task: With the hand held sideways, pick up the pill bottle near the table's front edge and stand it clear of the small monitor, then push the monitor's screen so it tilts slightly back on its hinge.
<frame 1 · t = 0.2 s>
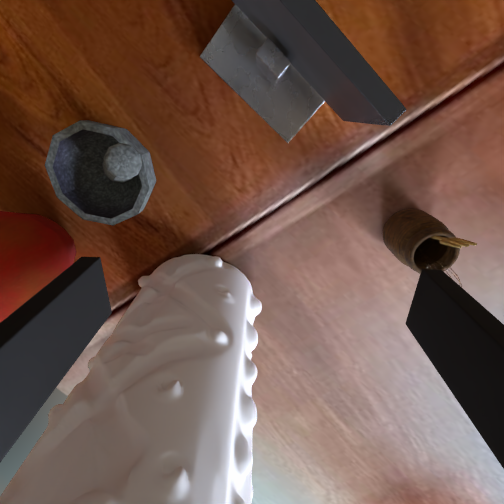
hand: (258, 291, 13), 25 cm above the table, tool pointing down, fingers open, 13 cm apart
utensil holder: (404, 228, 37), on the table
apple: (52, 238, 39), on the table
monitor stand: (275, 64, 30), on the table
mortar and pestle: (132, 162, 35), on the table
vase: (200, 301, 43), on the table
monitor screen: (292, 30, 20), point 10 cm above the table, hinge at 0.0°
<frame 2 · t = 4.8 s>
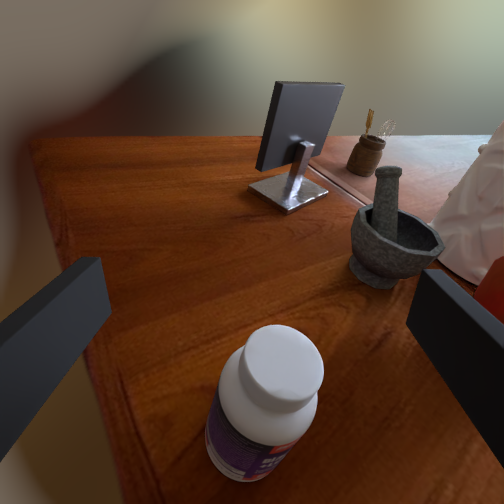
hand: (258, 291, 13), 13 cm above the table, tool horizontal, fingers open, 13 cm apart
utensil holder: (357, 171, 65), on the table
apple: (493, 367, 30), on the table
monitor stand: (286, 191, 50), on the table
mortar and pestle: (368, 268, 38), on the table
pill bottle: (243, 436, 20), on the table
vase: (472, 260, 46), on the table
monitor screen: (301, 125, 43), point 11 cm above the table, hinge at 0.0°
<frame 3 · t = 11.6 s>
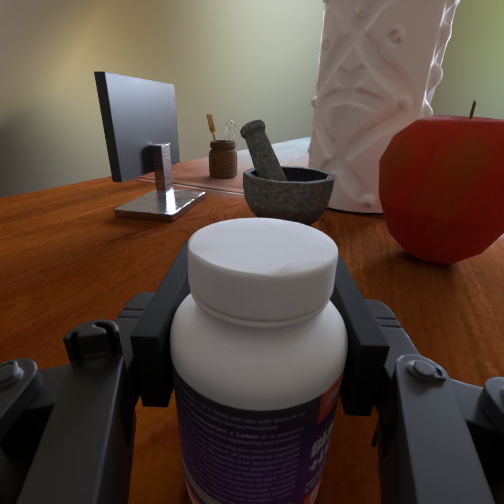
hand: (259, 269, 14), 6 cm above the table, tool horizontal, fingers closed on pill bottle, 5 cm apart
utensil holder: (222, 176, 65), on the table
apple: (427, 258, 30), on the table
monitor stand: (161, 205, 44), on the table
mortar and pestle: (279, 233, 35), on the table
pill bottle: (252, 463, 12), on the table, touching gripper
vase: (353, 201, 49), on the table
monitor screen: (146, 127, 39), point 10 cm above the table, hinge at 0.0°
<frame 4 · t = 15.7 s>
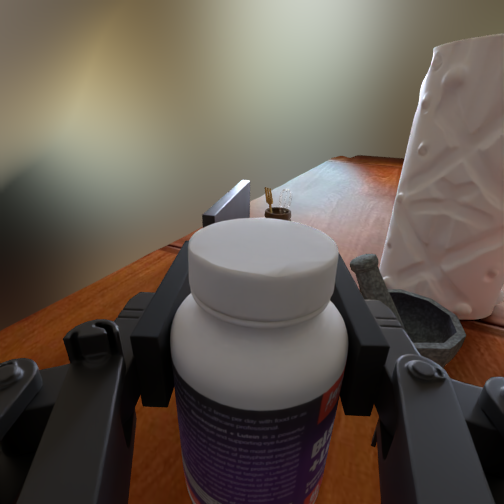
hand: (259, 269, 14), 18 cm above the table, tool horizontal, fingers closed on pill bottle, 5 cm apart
utensil holder: (275, 244, 62), on the table
mortar and pestle: (384, 364, 33), on the table
pill bottle: (253, 464, 12), point 12 cm above the table, touching gripper
vase: (430, 291, 47), on the table
monitor screen: (230, 238, 37), point 10 cm above the table, hinge at 0.0°
when the fingers open (6 cm above the table, at t = 20.1 s): pill bottle stays where it is, on the table.
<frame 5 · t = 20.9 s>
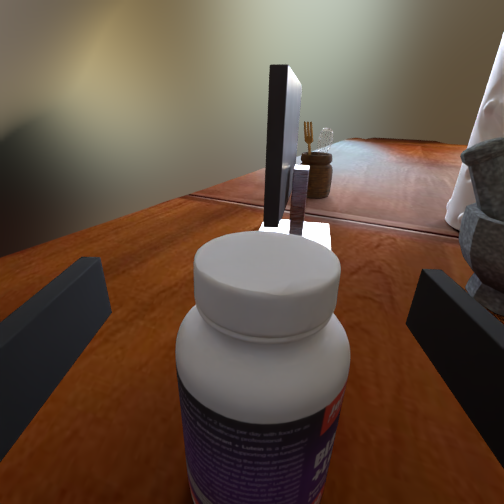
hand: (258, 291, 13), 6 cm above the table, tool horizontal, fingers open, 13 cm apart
utensil holder: (311, 195, 54), on the table
monitor stand: (287, 246, 33), on the table
mortar and pestle: (499, 299, 25), on the table
pill bottle: (255, 471, 12), on the table
monitor screen: (285, 144, 28), point 11 cm above the table, hinge at 0.0°
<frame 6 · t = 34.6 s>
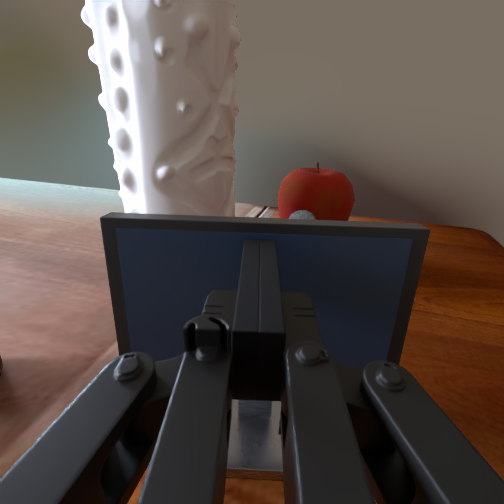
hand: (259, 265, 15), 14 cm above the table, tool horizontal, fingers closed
apple: (309, 247, 52), on the table
monitor stand: (254, 426, 22), on the table
vase: (185, 255, 48), on the table
monitor screen: (259, 316, 17), point 10 cm above the table, hinge at 5.9°, touching gripper
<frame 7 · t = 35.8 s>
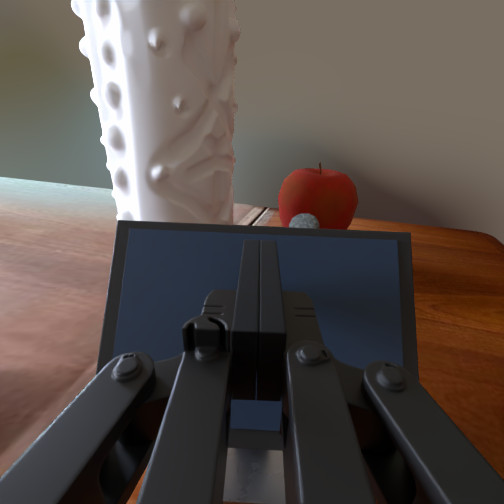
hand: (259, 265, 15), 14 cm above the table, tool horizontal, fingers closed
apple: (310, 250, 50), on the table
monitor stand: (251, 449, 20), on the table
mortar and pestle: (305, 302, 36), on the table
vase: (181, 258, 46), on the table
monitor screen: (258, 329, 16), point 10 cm above the table, hinge at 36.3°, touching gripper
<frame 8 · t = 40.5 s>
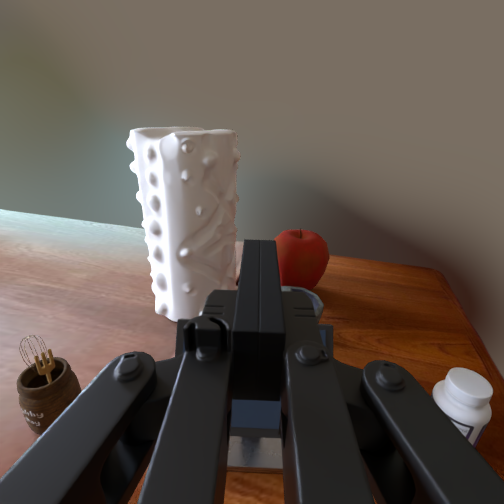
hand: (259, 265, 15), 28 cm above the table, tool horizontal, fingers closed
utensil holder: (59, 415, 37), on the table
apple: (295, 290, 65), on the table
monitor stand: (250, 440, 35), on the table
mortar and pestle: (288, 338, 51), on the table
pill bottle: (442, 441, 36), on the table
vase: (197, 300, 61), on the table
monitor screen: (253, 376, 31), point 10 cm above the table, hinge at 32.7°
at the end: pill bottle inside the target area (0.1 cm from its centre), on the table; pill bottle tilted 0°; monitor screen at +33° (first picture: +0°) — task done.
